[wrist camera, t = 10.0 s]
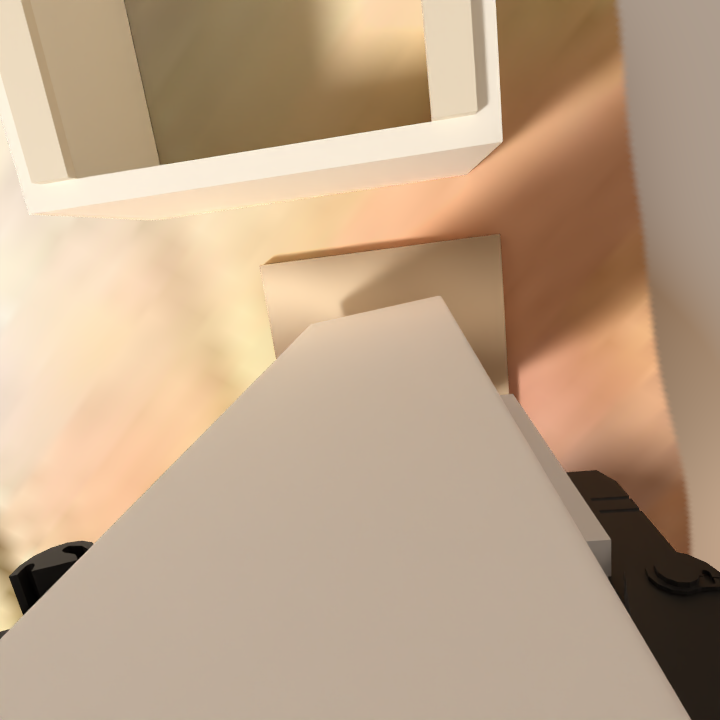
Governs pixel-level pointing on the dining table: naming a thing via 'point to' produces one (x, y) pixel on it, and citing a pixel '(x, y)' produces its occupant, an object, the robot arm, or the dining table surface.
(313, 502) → the milk
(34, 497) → the dining table surface
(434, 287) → the mat
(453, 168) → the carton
